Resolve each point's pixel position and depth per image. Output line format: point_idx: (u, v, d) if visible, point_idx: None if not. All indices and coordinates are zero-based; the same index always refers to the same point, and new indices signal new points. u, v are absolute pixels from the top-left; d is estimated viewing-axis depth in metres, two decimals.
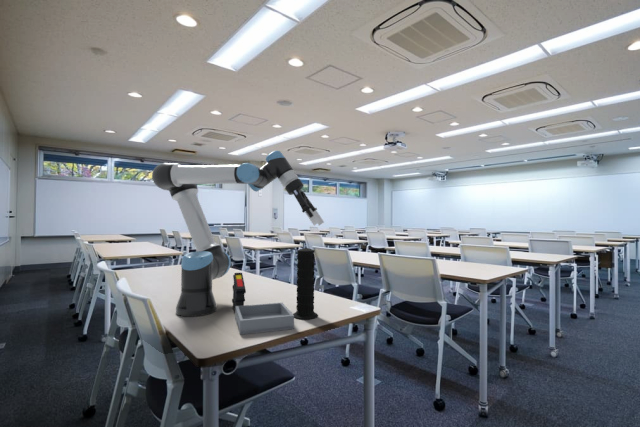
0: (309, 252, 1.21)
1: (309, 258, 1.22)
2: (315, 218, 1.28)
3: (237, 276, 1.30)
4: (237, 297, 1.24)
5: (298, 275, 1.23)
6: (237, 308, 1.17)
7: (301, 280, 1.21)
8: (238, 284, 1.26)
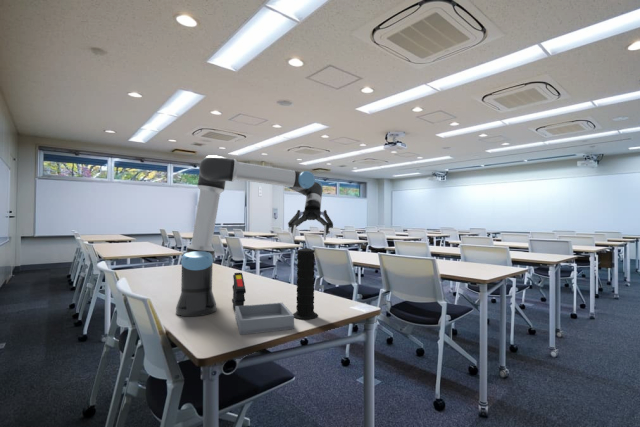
0: (309, 252, 1.21)
1: (309, 258, 1.22)
2: None
3: (237, 276, 1.30)
4: (237, 297, 1.24)
5: (298, 275, 1.23)
6: (237, 308, 1.17)
7: (301, 280, 1.21)
8: (238, 284, 1.26)
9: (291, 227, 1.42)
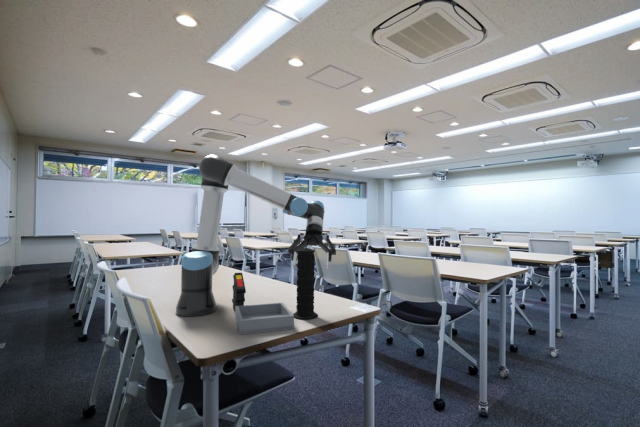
0: (309, 252, 1.21)
1: (309, 258, 1.22)
2: (328, 264, 1.30)
3: (237, 276, 1.30)
4: (237, 297, 1.24)
5: (298, 275, 1.23)
6: (237, 308, 1.17)
7: (301, 280, 1.21)
8: (238, 284, 1.26)
9: None
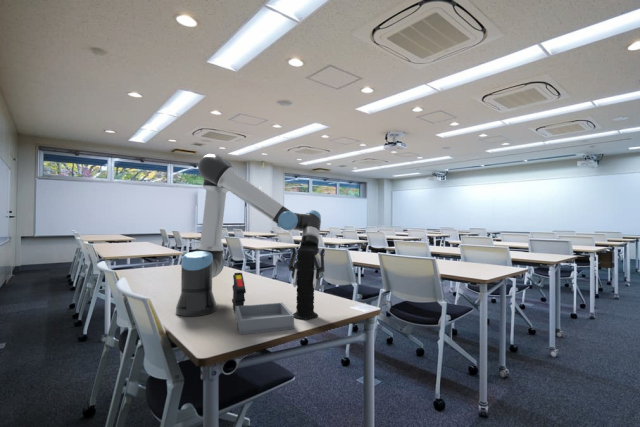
0: (309, 252, 1.21)
1: (309, 258, 1.22)
2: (315, 282, 1.22)
3: (237, 276, 1.30)
4: (237, 297, 1.24)
5: (298, 275, 1.23)
6: (237, 308, 1.17)
7: (301, 280, 1.21)
8: (238, 284, 1.26)
9: (292, 271, 1.25)
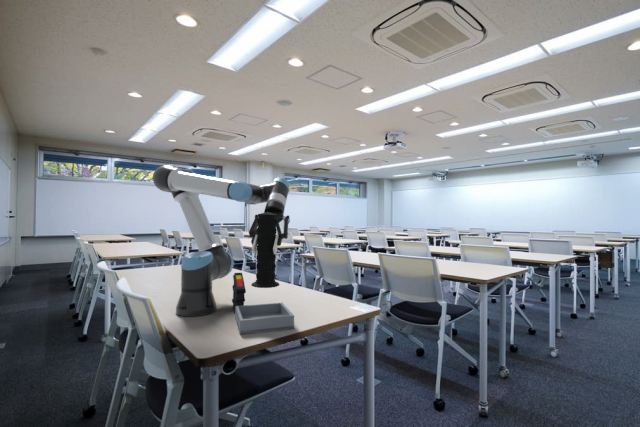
0: (270, 216, 1.13)
1: (270, 222, 1.13)
2: (276, 248, 1.13)
3: (237, 276, 1.30)
4: (237, 297, 1.24)
5: (258, 241, 1.14)
6: (237, 308, 1.17)
7: (261, 246, 1.13)
8: (238, 284, 1.26)
9: (252, 237, 1.16)
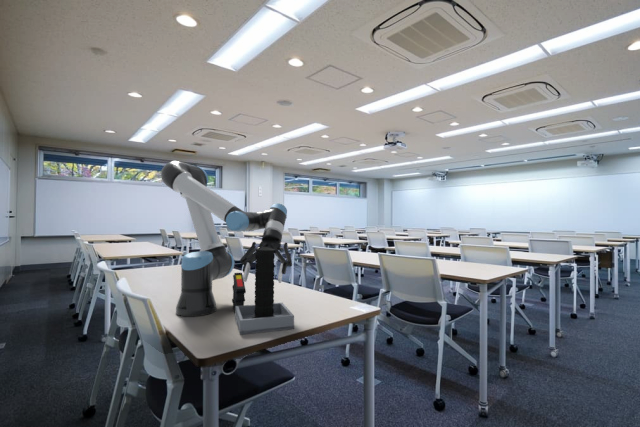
0: (267, 251, 1.12)
1: (267, 258, 1.12)
2: (281, 277, 1.13)
3: (237, 276, 1.30)
4: (237, 297, 1.24)
5: (256, 276, 1.13)
6: (237, 308, 1.17)
7: (259, 282, 1.12)
8: (238, 284, 1.26)
9: None
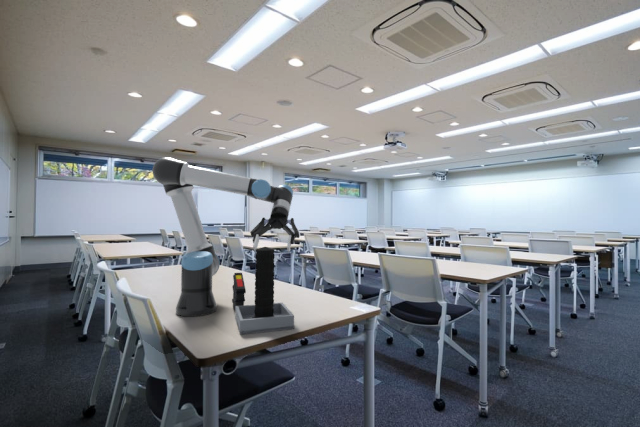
0: (267, 251, 1.12)
1: (267, 258, 1.12)
2: (290, 246, 1.26)
3: (237, 276, 1.30)
4: (237, 297, 1.24)
5: (256, 276, 1.13)
6: (237, 308, 1.17)
7: (259, 282, 1.12)
8: (238, 284, 1.26)
9: (253, 236, 1.30)
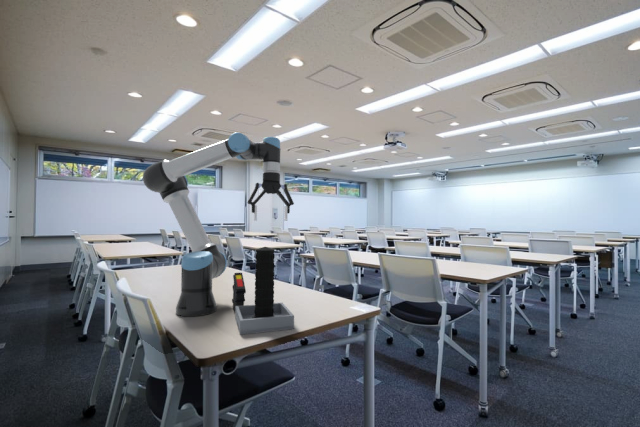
0: (267, 251, 1.12)
1: (267, 258, 1.12)
2: None
3: (237, 276, 1.30)
4: (237, 297, 1.24)
5: (256, 276, 1.13)
6: (237, 308, 1.17)
7: (259, 282, 1.12)
8: (238, 284, 1.26)
9: (252, 207, 1.38)
